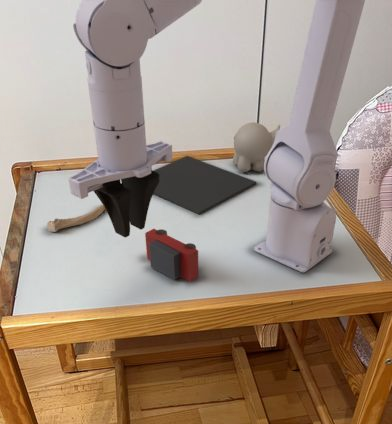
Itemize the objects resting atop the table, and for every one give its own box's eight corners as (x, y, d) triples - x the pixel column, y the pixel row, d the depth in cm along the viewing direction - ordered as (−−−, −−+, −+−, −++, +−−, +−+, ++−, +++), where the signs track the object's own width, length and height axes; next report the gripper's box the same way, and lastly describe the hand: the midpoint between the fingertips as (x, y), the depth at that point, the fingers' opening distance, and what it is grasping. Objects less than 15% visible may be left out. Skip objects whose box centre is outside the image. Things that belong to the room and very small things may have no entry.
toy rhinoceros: (296, 172, 102) (302, 127, 96) (236, 176, 101) (239, 131, 95) (286, 157, 107) (291, 114, 102) (229, 161, 106) (231, 118, 100)
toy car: (202, 274, 76) (202, 247, 73) (183, 286, 74) (182, 259, 71) (159, 252, 81) (157, 226, 78) (140, 262, 79) (137, 236, 76)
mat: (256, 184, 98) (256, 181, 98) (199, 214, 90) (199, 212, 89) (187, 158, 107) (187, 155, 107) (129, 183, 99) (129, 181, 98)
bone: (112, 213, 90) (110, 202, 89) (55, 236, 85) (52, 224, 83) (103, 208, 92) (101, 197, 90) (47, 230, 86) (44, 219, 85)
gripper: (90, 150, 52) (106, 264, 62) (189, 113, 60) (190, 219, 69) (49, 133, 56) (70, 243, 65) (147, 100, 64) (154, 203, 73)
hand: (130, 230), depth 68 cm, fingers closed
